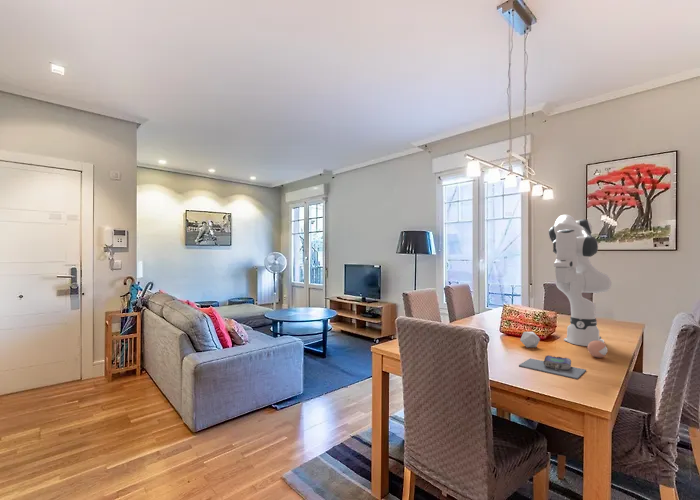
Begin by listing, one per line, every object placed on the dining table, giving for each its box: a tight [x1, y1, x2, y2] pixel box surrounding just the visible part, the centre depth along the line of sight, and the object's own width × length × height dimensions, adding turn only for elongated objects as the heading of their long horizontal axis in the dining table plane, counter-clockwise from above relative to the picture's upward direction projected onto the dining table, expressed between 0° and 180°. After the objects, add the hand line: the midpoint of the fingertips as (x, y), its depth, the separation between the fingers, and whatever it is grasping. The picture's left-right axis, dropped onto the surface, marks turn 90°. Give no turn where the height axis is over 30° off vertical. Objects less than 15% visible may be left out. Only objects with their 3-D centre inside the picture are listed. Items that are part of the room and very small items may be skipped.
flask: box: [543, 355, 572, 370], centre depth 147 cm, size 10×3×12 cm
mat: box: [518, 358, 587, 380], centre depth 146 cm, size 14×22×1 cm, turn 43°
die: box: [519, 331, 541, 349], centre depth 181 cm, size 8×9×10 cm
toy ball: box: [587, 340, 608, 359], centre depth 162 cm, size 8×8×8 cm
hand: (567, 291), depth 163 cm, fingers closed
